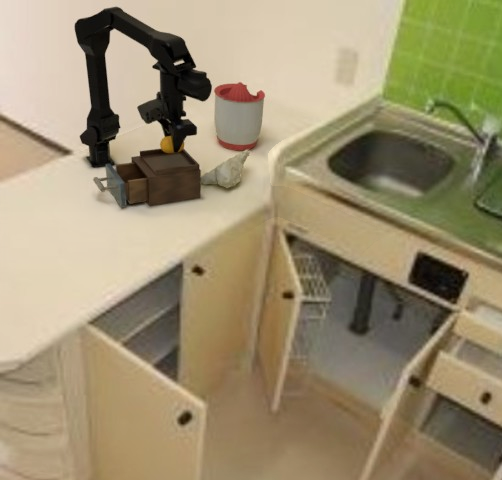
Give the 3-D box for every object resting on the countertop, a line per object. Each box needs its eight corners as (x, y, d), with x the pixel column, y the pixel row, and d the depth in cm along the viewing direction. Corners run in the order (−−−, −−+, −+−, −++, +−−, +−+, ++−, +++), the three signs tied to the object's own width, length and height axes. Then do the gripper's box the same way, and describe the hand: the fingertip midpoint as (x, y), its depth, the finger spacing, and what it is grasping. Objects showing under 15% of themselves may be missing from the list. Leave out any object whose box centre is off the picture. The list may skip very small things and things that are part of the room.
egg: (163, 157, 168) (163, 141, 165) (157, 150, 171) (157, 134, 168) (186, 154, 171) (186, 138, 168) (180, 147, 174) (180, 132, 171)
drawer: (104, 209, 163) (102, 186, 159) (91, 189, 171) (88, 166, 167) (171, 199, 172) (170, 176, 168) (155, 180, 179) (154, 157, 175)
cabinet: (149, 206, 169) (148, 177, 164) (132, 185, 177) (131, 156, 172) (200, 198, 176) (200, 170, 171) (182, 177, 184) (182, 150, 179)
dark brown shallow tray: (156, 176, 165) (156, 170, 164) (139, 156, 173) (139, 150, 172) (199, 170, 171) (199, 164, 170) (181, 151, 179) (181, 145, 178)
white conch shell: (210, 203, 179) (254, 173, 176) (194, 180, 177) (239, 150, 174) (220, 194, 193) (261, 167, 190) (206, 173, 191) (247, 145, 188)
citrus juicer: (273, 143, 212) (279, 82, 200) (241, 158, 200) (244, 95, 188) (236, 128, 218) (239, 69, 206) (202, 142, 205) (203, 80, 193)
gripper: (127, 79, 163) (130, 138, 172) (154, 106, 151) (155, 167, 160) (169, 77, 168) (170, 133, 178) (198, 102, 156) (197, 161, 166)
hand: (172, 148), depth 170 cm, fingers closed on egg, 4 cm apart
